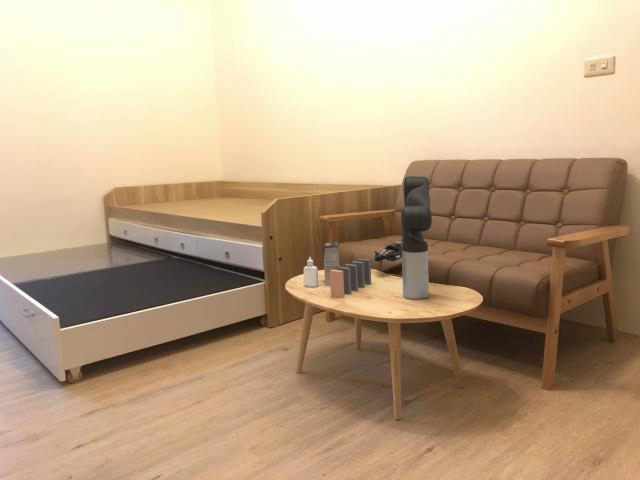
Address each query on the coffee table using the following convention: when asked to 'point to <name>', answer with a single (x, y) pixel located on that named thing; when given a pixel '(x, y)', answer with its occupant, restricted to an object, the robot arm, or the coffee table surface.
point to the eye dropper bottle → (310, 274)
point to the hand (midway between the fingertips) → (376, 259)
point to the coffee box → (330, 259)
